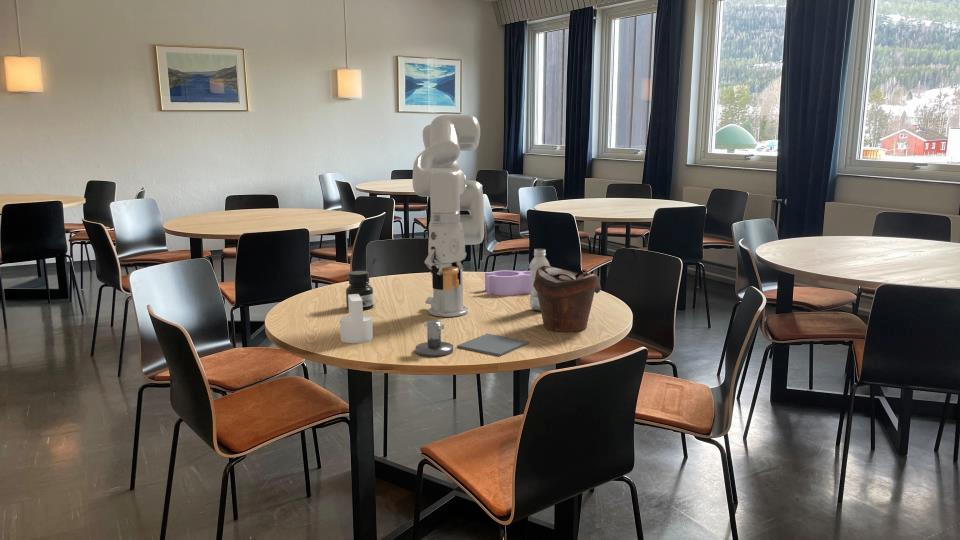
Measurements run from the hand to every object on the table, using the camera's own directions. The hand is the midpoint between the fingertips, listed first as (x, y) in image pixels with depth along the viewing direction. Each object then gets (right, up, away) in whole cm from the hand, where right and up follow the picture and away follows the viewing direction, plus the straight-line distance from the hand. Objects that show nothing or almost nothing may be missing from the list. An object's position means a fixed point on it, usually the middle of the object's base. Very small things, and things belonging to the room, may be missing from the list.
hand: (446, 286), depth 186 cm
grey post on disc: (-3, -17, +2) cm, 18 cm away
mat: (+12, -16, +7) cm, 22 cm away
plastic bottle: (+28, -9, +45) cm, 54 cm away
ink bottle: (-31, -9, +51) cm, 61 cm away
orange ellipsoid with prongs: (0, 0, 0) cm, 0 cm away
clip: (+21, -4, +74) cm, 77 cm away
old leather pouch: (+34, -13, +25) cm, 44 cm away
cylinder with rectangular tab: (-26, -15, +15) cm, 34 cm away
